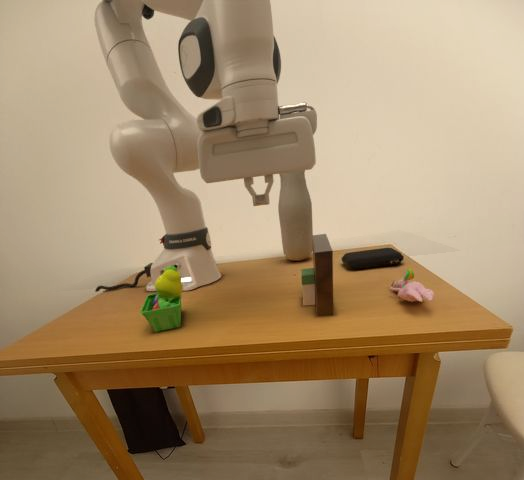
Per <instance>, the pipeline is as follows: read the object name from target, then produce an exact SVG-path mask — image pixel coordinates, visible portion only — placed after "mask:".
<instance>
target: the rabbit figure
mask: <svg viewBox="0 0 524 480" xmlns="http://www.w3.org/2000/svg"><path fill="white" fill-rule="evenodd" d="M403 277H404V278H403V279H398V280H394V279H392V283H391V286H390V287H389V291H394V293H397V295H396V296H397V297H398V298H399V299H401V300H405V301H406V302H410V303H413V302H419V303H422V302H423V298H424V299H426V300H427V301H428V302H432V301H433V299H434V296H435V292H434V291H433V290H432V289H430V288H426V287H425V285H424V284H422V283H421V282H419V281H413V279H414V277H415V274H414V271H413V270H412V269H410V268H408V269H407V272H406V274H405V275H404V276H403Z"/></svg>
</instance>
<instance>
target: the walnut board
mask: <svg viewBox="0 0 524 480" xmlns="http://www.w3.org/2000/svg"><path fill="white" fill-rule="evenodd" d="M312 249H313V251H312V268H314V274H315V303H316V304H315V307H316V308H315V309H316V316H317V317H325V316H334V259H333V258H334V254H333V253H334V252H333V249H332V246H331V243H330V240H329V238H328V236H327V233H319V234H313V235H312Z"/></svg>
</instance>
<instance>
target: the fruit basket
mask: <svg viewBox="0 0 524 480" xmlns="http://www.w3.org/2000/svg"><path fill="white" fill-rule="evenodd" d="M155 289H156V290H157V291H156V292H155V293H151V294H147V295H146V297H145V300H144V302H143V305H142V307H141V309H140V313H141V315H142V316H143V317H144V318H145V319H146V321H147V322H148V324H149V325H150V327H151V328H152V329H153V330H154V332H155V333H158V332H160V331H166V330H167V331H168V330H171V329H175V328H181V322H182V294H183V291H182V289H183V287H182V282H181V274H180V273H179V272H178V271H177V268H175V267H173V266H169V267H167V268H166V269H165V270H164V273H163V274H162V275H161V276H160V277H159V278H158V280H157V281H156V282H155Z"/></svg>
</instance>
